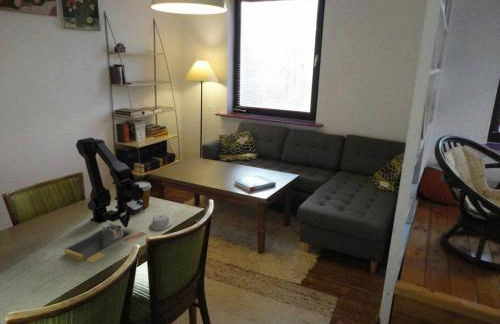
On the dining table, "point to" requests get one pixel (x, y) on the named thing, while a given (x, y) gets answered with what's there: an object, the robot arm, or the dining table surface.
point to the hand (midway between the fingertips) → (125, 227)
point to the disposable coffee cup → (145, 192)
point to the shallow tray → (89, 246)
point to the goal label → (95, 257)
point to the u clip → (112, 232)
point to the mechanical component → (160, 222)
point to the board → (133, 237)
